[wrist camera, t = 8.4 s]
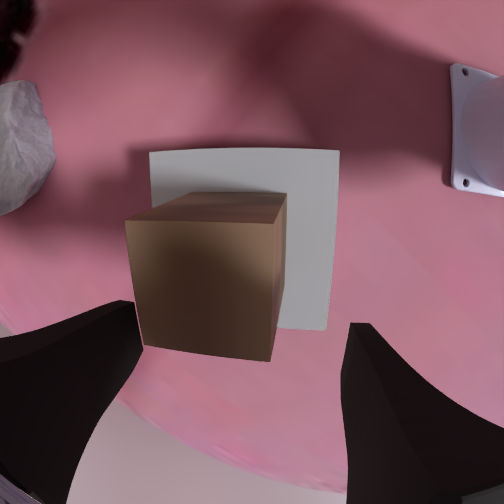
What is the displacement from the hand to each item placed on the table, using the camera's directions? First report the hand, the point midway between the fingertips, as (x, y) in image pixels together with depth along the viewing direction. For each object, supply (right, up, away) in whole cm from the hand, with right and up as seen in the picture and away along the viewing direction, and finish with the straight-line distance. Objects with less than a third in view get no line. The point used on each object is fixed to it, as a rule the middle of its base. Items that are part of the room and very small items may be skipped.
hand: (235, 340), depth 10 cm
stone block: (-21, +11, +11) cm, 26 cm away
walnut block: (0, +3, +5) cm, 6 cm away
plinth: (+1, +4, +9) cm, 10 cm away
